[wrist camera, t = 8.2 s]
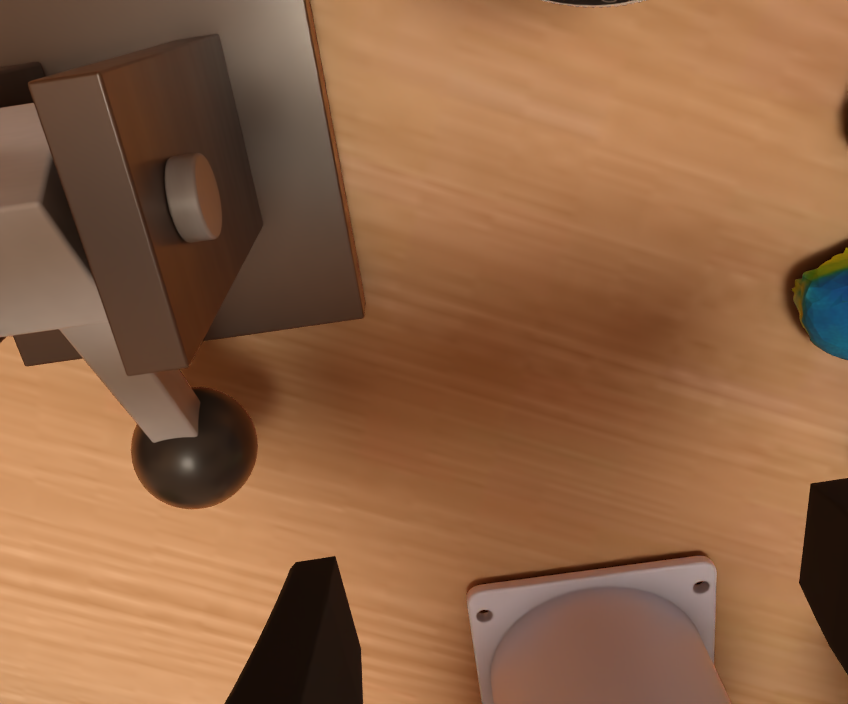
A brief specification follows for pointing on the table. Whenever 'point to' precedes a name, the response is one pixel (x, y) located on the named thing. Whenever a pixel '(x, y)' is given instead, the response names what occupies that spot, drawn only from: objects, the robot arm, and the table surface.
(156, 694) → the table surface
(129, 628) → the table surface
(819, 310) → the plush toy
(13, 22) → the rod stand
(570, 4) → the watch
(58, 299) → the rod arm
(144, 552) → the table surface
